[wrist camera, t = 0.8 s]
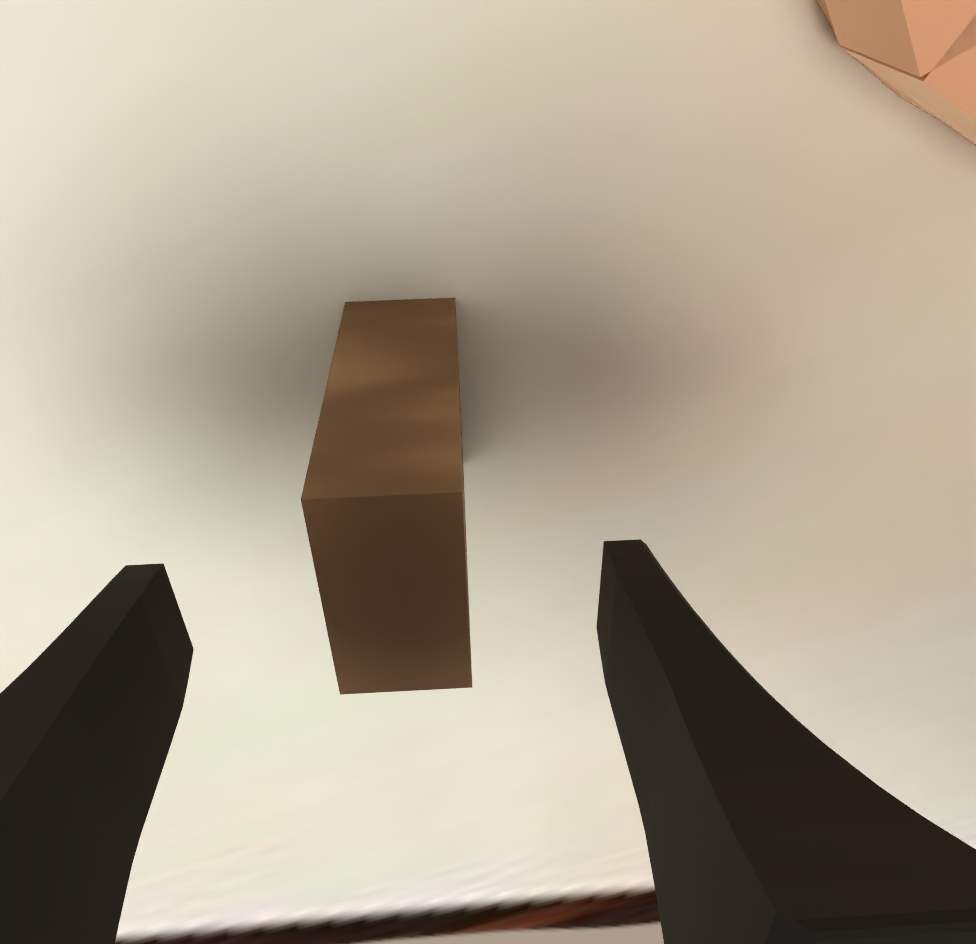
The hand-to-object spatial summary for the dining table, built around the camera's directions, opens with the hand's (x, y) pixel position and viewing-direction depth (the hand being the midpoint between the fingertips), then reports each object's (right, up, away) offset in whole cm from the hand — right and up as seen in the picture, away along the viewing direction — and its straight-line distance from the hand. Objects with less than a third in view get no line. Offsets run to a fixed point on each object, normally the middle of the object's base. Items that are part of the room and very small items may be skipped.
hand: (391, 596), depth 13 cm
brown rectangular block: (0, +4, +6) cm, 7 cm away
